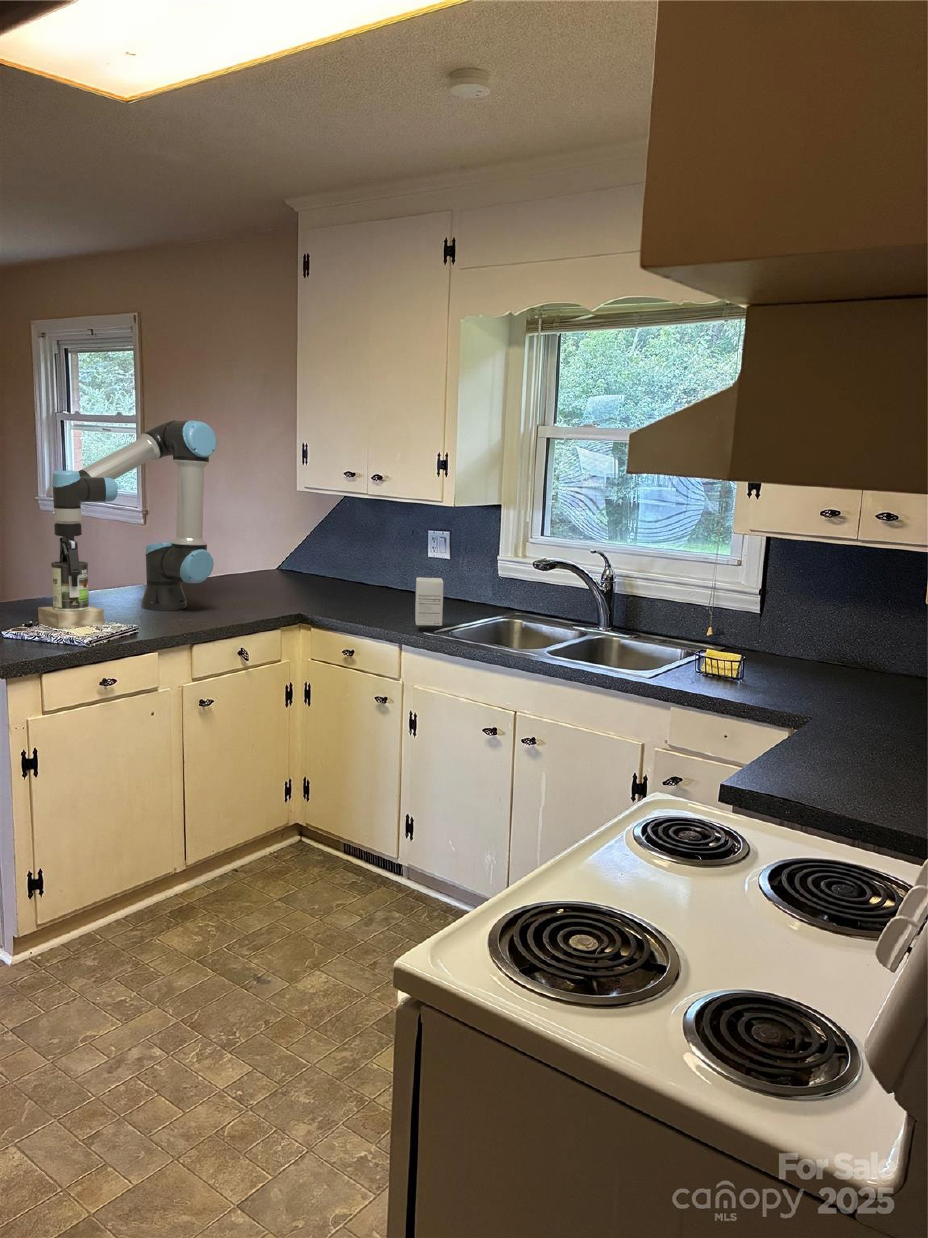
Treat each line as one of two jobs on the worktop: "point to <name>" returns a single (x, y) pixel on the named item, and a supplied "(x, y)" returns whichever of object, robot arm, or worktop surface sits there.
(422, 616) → the supplement box
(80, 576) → the coffee can
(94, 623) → the birch block
